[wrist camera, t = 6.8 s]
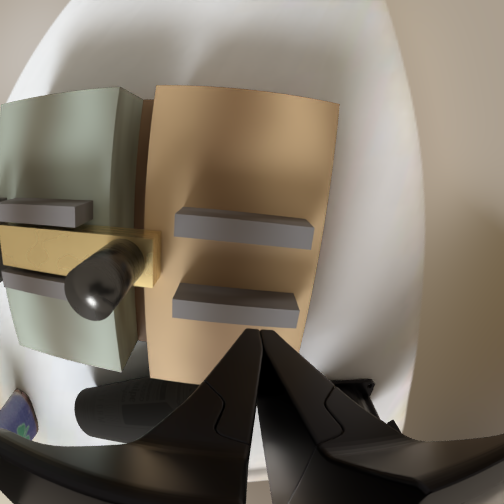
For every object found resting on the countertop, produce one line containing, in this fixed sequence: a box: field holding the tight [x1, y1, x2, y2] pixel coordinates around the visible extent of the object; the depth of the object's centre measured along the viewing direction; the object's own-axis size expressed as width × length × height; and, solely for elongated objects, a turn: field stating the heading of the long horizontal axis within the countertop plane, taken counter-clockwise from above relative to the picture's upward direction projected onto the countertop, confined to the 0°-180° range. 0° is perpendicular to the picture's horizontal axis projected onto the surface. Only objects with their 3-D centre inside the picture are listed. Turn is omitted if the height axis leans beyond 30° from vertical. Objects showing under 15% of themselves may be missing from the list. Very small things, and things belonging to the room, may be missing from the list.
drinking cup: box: [75, 376, 257, 443], centre depth 21 cm, size 8×8×20 cm
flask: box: [0, 389, 38, 441], centre depth 21 cm, size 9×3×11 cm, turn 160°
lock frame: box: [0, 85, 340, 385], centre depth 17 cm, size 20×17×7 cm
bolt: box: [0, 222, 162, 321], centre depth 12 cm, size 10×2×5 cm, turn 84°
